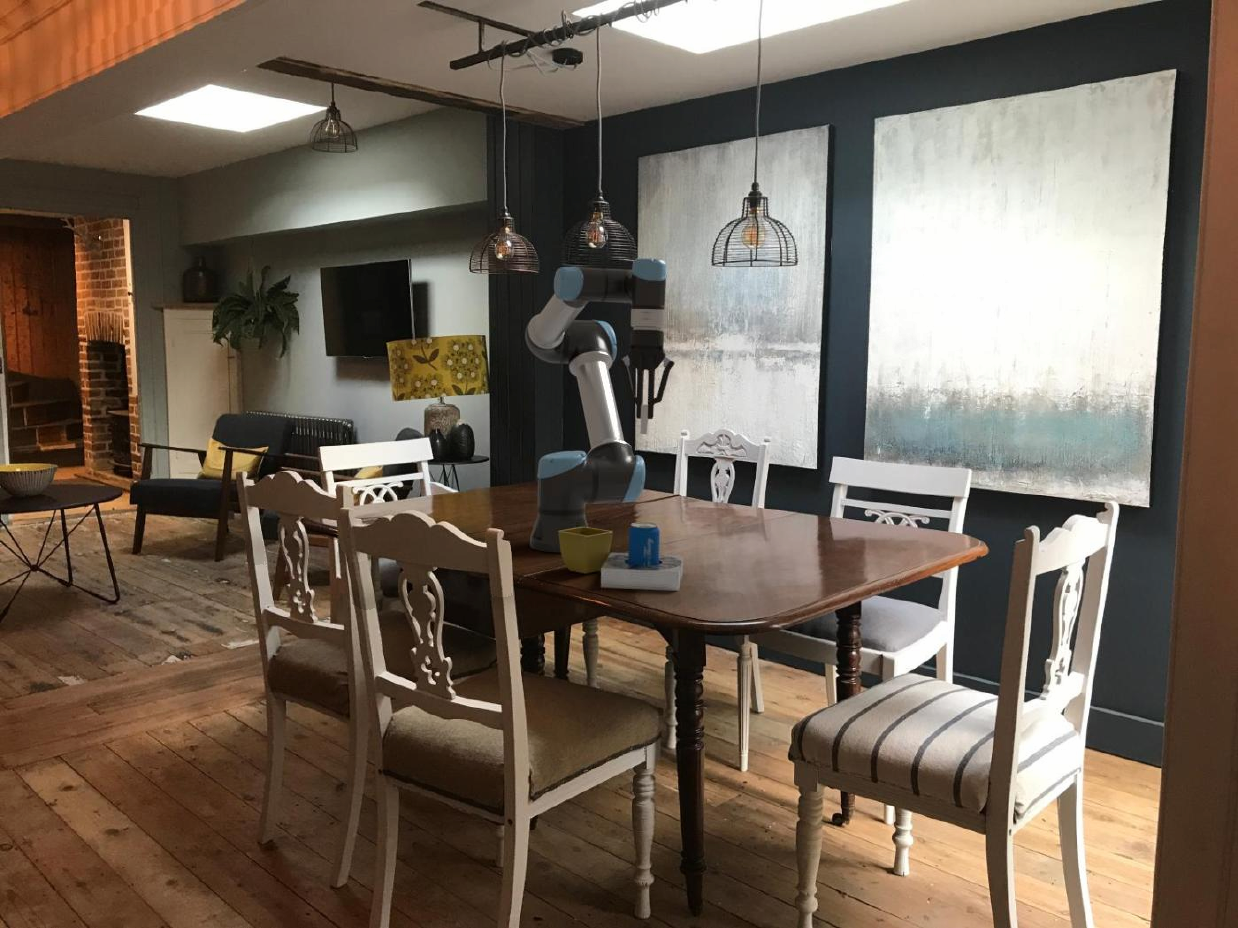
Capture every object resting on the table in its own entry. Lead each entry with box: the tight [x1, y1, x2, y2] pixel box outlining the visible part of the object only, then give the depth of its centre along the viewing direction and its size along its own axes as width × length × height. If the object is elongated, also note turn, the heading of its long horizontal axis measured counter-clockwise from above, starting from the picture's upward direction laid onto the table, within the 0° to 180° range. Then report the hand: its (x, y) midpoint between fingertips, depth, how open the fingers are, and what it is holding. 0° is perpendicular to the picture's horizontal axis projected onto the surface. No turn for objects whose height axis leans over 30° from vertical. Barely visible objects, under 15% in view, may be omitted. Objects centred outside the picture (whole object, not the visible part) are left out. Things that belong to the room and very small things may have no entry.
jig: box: [600, 552, 684, 592], centre depth 212 cm, size 16×16×4 cm
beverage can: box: [628, 522, 661, 566], centre depth 212 cm, size 6×6×12 cm
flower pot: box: [558, 526, 614, 575], centre depth 220 cm, size 9×9×9 cm
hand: (644, 433), depth 227 cm, fingers closed
